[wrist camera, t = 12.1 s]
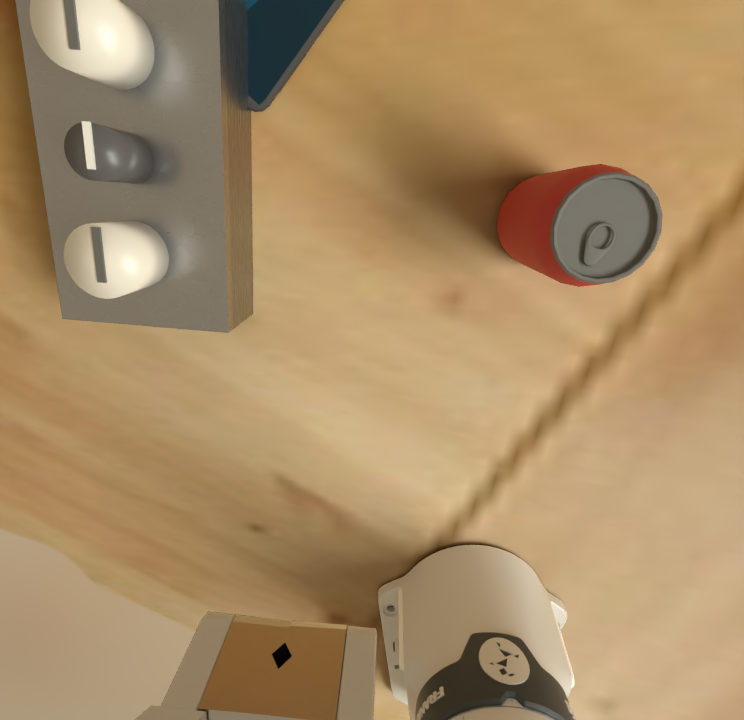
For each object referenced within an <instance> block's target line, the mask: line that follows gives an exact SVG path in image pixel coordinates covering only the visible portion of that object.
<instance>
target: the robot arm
mask: <svg viewBox="0 0 744 720" xmlns="http://www.w3.org/2000/svg"><path fill="white" fill-rule="evenodd" d="M378 604H379V610H380V617H381V624H382V630H383V637H384V643H385V650H386V657H387V663H388V670H389V677H390V683H391V690H392V694H393V697H394V698H395V699H397V700H398V701H400V702H402V703H404V704H406V705H408V708H409V715H410V720H576V719H575V716H574V713H573V711H572V708H571V706H570V705H569V702H568V699H567V697H568V696H569V694H570V691H571V688H572V687H574V675H573V672H572V668H571V665H570V661H569V658H568V654H567V651H566V648H565V644H564V641H563V638H562V634H561V629H562V627H563V625H564V623H565V622H566V619H567V613H566V609H565V606H564V604H563V603H562V602H561V601H560V600H559V599H557V598H556V597H555V596H553V595H552V594H550V593H549V592H547V591H546V590H545V588H544V587H543V585H542V584H541V582H540V580H539V578H538V577H537V575H536V573H535V572H534V571H533V570H532V568H531V567H530V566H529V565H528V564H526V563H525V562H524V561H523V560H521V559H520V558H518V557H517V556H515V555H513V554H511V553H509V552H507V551H504V550H502V549H499V548H495V547H490V546H484V545H462V546H455V547H450V548H447V549H443V550H441V551H438V552H436V553H434V554H432V555H430V556H428V557H426V558H425V559H423V560H422V561H420V562H419V563H418V564H417V565H416V566H415V567H414V568H413V569H412V570H411V571H409V572H408V573H407V574H406V575H405V576H403V577H402V578H399V579H396V580H394V581H391V582H389V583H387V584H385V585H383V586H382V587H380V589H379V590H378ZM390 605H392V606H390ZM376 647H377V631H376V628H367V627H357V626H348V629H347V625H341V624H329V623H317V622H305V621H293V620H292V621H285V620H277V619H269V618H261V617H253V616H246V615H238V614H237V615H236V614H227V613H219V612H210V611H208V612H207V613H206V615H205V616H204V617H203V618H202V619H201V621H200V624H199V626H198V628H197V630H196V632H195V634H194V637H193V639H192V641H191V643H190V645H189V647H188V649H187V651H186V653H185V656H184V658H183V660H182V662H181V664H180V666H179V668H178V671H177V672H176V675H175V677H174V679H173V681H172V683H171V685H170V688H169V690H168V692H167V694H166V696H165V698H164V700H163V703H162V704H161V706H150V707H149V708H148V709H147V710H146V711H144V712H143V713H142V714H141V715H140V716H138V717H137V718H136V719H135V720H373V716H374V693H375V670H376Z"/></svg>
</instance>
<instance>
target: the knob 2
mask: <svg viewBox="0 0 744 720" xmlns="http://www.w3.org/2000/svg"><path fill="white" fill-rule="evenodd" d="M64 261H65V265H66V268H67V270H68V273H69V275H70V276H71V278H72V279H73V281H74V282H75V283H76V284H77V285H78V286H79V287H80V288H81V289H82V290H84V291H85V292H87V293H88V294H90V295H93V296H95V297H98V298H104V299H112V298H117V297H120V296H123V295H126V294H129V293H132V292H135V291H138V290H141V289H144V288H147V287H150V286H152V285H155V284H156V283H158V282H159V281H160V280H161V279H162V278H163V277H164V275H165V274H166V272H167V269H168V265H169V255H168V250H167V247H166V244H165V242H164V241H163V239H162V238H161V236H160V235H159V234H158V233H157V232H156V231H155V230H154V229H153V228H151V227H150V226H148V225H147V224H144V223H142V222H138V221H117V222H102V223H89V224H84V225H81V226H79V227H78V228H76V229H75V230H74V231H72V232H71V234H70V235H69V236H68V238H67V240H66V243H65V247H64Z"/></svg>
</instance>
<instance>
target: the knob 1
mask: <svg viewBox="0 0 744 720" xmlns="http://www.w3.org/2000/svg"><path fill="white" fill-rule="evenodd" d="M30 21H31V26H32V30H33V33H34V35H35V38H36V40H37V42H38V44H39V45H40V47H41V48H42V50H43V51H44V52H45V54H46V55H47V56H48V57H49V58H50V59H51V60H52V61H54V62H55V63H56V64H58V65H59V66H61V67H63V68H65V69H67V70H70V71H72V72H75V73H77V74H79V75H82V76H84V77H87V78H89V79H92V80H94V81H97V82H99V83H102V84H104V85H107V86H109V87H112V88H115V89H120V90H128V89H132V88H135V87H137V86H139V85H140V84H142V83H143V82H144V81H145V80H146V79H147V77H148V76H149V74H150V72H151V70H152V67H153V63H154V56H155V55H154V43H153V39H152V36H151V33H150V31H149V29H148V27H147V25H146V24H145V22H144V21H143V20H142V18H141V17H140V16H139V15H138V14H137V13H136V12H135V11H133V10H132V9H131V8H129V7H128V6H126V5H125V4H124V3H122V2H121V1H120V0H31V1H30Z"/></svg>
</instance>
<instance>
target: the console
mask: <svg viewBox="0 0 744 720" xmlns="http://www.w3.org/2000/svg"><path fill="white" fill-rule="evenodd" d="M30 1H31V0H15V2H16V8H17V15H18V22H19V29H20V35H21V42H22V49H23V56H24V62H25V69H26V76H27V83H28V89H29V96H30V103H31V110H32V116H33V123H34V130H35V137H36V143H37V150H38V157H39V164H40V170H41V177H42V184H43V190H44V197H45V204H46V211H47V217H48V224H49V231H50V238H51V244H52V251H53V258H54V265H55V271H56V278H57V285H58V292H59V298H60V305H61V312H62V319H70V320H82V321H94V322H106V323H118V324H130V325H142V326H154V327H166V328H178V329H190V330H201V331H213V332H225V333H229V332H230V331H231V330H232V329H234V328H235V327H236V326H238V325H239V324H240V323H242V322H243V321H244V320H245V319H247V318H248V317H249V316H251V315H252V314H253V265H252V178H251V109H250V108H249V105H248V35H247V0H120V1H121V2H122V3H124V4H125V5H126V6H128V7H129V8H131V9H132V10H133V11H135V12H136V13H137V14H138V15H139V16H140V17H141V18H142V20H143V21H144V22H145V24H146V25H147V27H148V29H149V31H150V33H151V36H152V39H153V43H154V55H155V56H154V63H153V67H152V70H151V72H150V74H149V76H148V77H147V79H146V80H145V81H144V82H143V83H142V84H140V85H139V86H137V87H135V88H132V89H128V90H120V89H115V88H112V87H109V86H107V85H104V84H102V83H99V82H97V81H94V80H92V79H89V78H87V77H84V76H82V75H79V74H77V73H75V72H72V71H70V70H67V69H65V68H63V67H61V66H59V65H58V64H56V63H55V62H54V61H52V60H51V59H50V58H49V57H48V56H47V55H46V54H45V52H44V51H43V50H42V48H41V47H40V45H39V44H38V42H37V40H36V38H35V35H34V33H33V30H32V26H31V21H30ZM82 121H87V122H91V123H95V124H99V125H103V126H106V127H110V128H114V129H118V130H122V131H126V132H129V133H133V134H136V135H138V136H139V137H141V138H142V139H143V140H144V141H145V142H146V143H147V144H148V146H149V148H150V150H151V152H152V156H153V169H152V172H151V174H150V175H149V177H148V178H147V179H146V180H144V181H143V182H140V183H136V184H131V183H117V182H103V181H91V180H88V179H85V178H83V177H81V176H80V175H78V174H77V173H76V172H75V171H74V170H73V169H72V167H71V166H70V164H69V163H68V161H67V158H66V155H65V151H64V140H65V137H66V134H67V132H68V131H69V129H70V128H71V127H72V126H74V125H75V124H77V123H80V122H82ZM117 221H138V222H142V223H144V224H147V225H148V226H150V227H151V228H153V229H154V230H155V231H156V232H157V233H158V234H159V235H160V236H161V238H162V239H163V241H164V242H165V244H166V247H167V250H168V255H169V265H168V269H167V272H166V274H165V275H164V277H163V278H162V279H161V280H160V281H159V282H158V283H156V284H155V285H152V286H150V287H147V288H144V289H141V290H138V291H135V292H132V293H129V294H126V295H123V296H120V297H117V298H112V299H104V298H98V297H95V296H93V295H90V294H88V293H87V292H85V291H84V290H82V289H81V288H80V287H79V286H78V285H77V284H76V283H75V282H74V281H73V279H72V278H71V276H70V275H69V273H68V270H67V268H66V265H65V261H64V247H65V243H66V240H67V238H68V236H69V235H70V234H71V232H72V231H74V230H75V229H76V228H78V227H79V226H81V225H84V224H89V223H102V222H117Z"/></svg>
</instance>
